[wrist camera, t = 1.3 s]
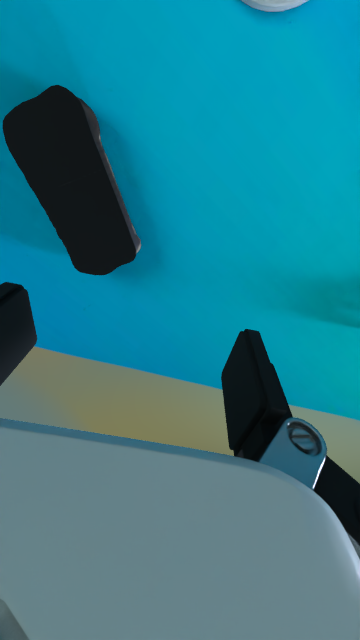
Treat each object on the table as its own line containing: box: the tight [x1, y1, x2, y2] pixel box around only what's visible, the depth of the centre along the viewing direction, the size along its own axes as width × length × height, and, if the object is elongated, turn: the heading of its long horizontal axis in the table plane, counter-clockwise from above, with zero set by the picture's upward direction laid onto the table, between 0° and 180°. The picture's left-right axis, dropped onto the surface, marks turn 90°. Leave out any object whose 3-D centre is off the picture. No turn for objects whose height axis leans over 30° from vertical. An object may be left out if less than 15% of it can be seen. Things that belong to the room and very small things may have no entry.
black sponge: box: [3, 85, 141, 275], centre depth 26 cm, size 16×8×4 cm, turn 15°
